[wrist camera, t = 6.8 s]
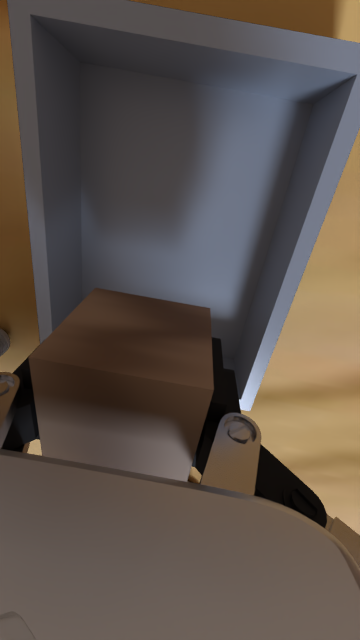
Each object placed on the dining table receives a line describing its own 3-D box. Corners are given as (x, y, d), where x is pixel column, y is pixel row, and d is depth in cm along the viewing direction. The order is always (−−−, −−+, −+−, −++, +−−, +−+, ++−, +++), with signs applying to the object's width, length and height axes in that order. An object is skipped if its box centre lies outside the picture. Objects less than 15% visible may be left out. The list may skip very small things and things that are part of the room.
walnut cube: (210, 308, 12) (213, 389, 7) (190, 393, 14) (183, 494, 10) (95, 287, 12) (28, 357, 7) (94, 376, 14) (44, 469, 10)
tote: (240, 364, 22) (249, 411, 18) (75, 335, 22) (43, 374, 18) (330, 90, 14) (390, 48, 9) (68, 43, 14) (5, -22, 9)
